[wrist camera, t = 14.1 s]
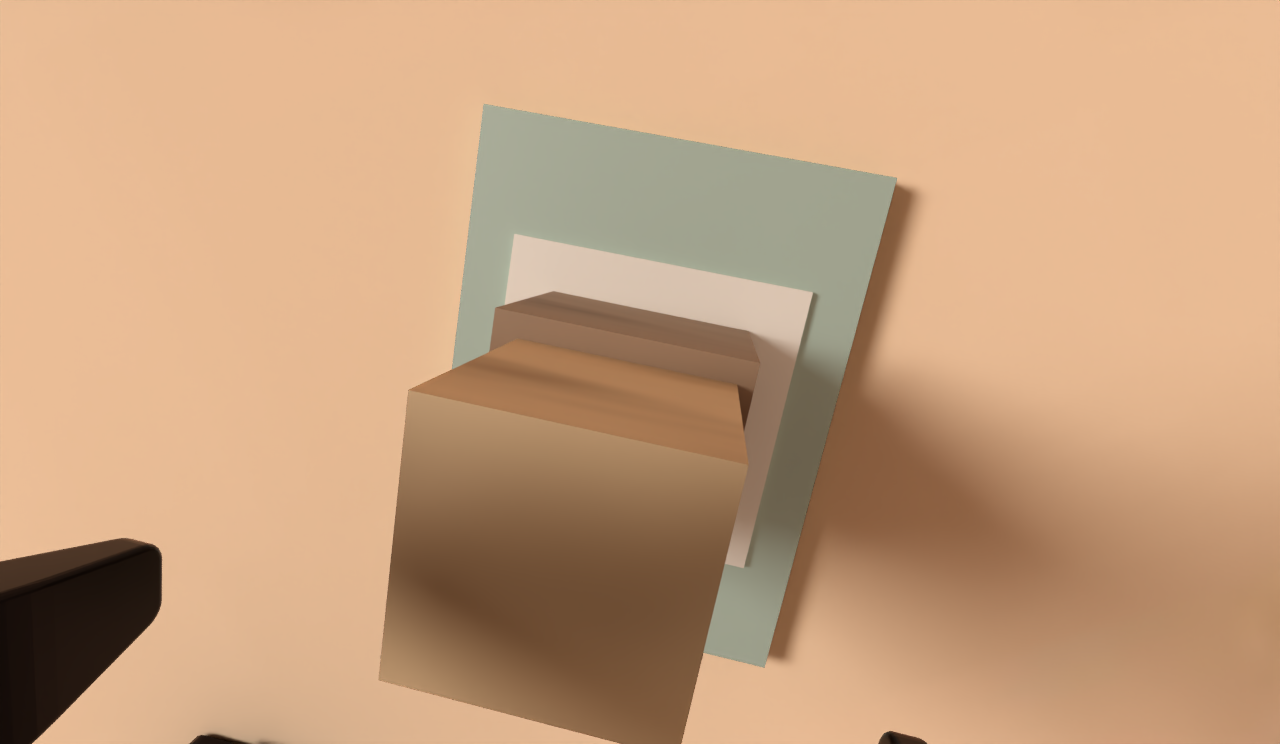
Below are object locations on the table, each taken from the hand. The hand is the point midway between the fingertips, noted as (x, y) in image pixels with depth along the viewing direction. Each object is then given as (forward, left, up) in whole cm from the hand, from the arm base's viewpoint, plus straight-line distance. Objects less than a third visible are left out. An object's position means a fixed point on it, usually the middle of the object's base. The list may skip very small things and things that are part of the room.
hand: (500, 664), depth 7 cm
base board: (0, 0, -13) cm, 13 cm away
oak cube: (0, 0, -7) cm, 7 cm away
